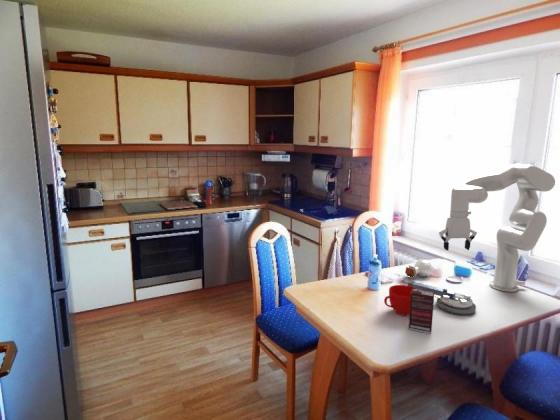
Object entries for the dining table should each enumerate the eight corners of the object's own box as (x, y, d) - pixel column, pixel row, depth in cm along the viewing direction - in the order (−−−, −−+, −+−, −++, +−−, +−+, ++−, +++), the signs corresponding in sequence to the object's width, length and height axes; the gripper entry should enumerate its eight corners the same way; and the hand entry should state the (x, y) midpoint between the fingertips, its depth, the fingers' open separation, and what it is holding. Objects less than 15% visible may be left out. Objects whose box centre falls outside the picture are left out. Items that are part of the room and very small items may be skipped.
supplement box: (431, 328, 149) (435, 291, 146) (431, 334, 144) (434, 296, 141) (409, 324, 152) (411, 287, 149) (407, 329, 148) (410, 292, 145)
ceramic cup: (374, 310, 165) (375, 288, 163) (404, 303, 171) (405, 283, 169) (393, 323, 153) (395, 300, 151) (425, 315, 160) (427, 293, 158)
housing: (465, 299, 175) (465, 295, 175) (482, 315, 159) (483, 311, 159) (431, 299, 175) (431, 295, 175) (445, 315, 160) (445, 310, 159)
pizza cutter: (413, 286, 185) (414, 277, 184) (475, 301, 168) (476, 291, 167) (403, 294, 175) (404, 284, 174) (468, 312, 158) (469, 301, 157)
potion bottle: (431, 277, 207) (411, 284, 202) (421, 263, 213) (400, 270, 207) (439, 267, 201) (418, 275, 195) (428, 253, 206) (407, 260, 201)
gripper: (473, 212, 176) (471, 246, 179) (437, 212, 176) (435, 247, 180) (482, 215, 168) (479, 251, 172) (443, 216, 169) (441, 252, 172)
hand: (456, 249), depth 176 cm, fingers open, 9 cm apart
